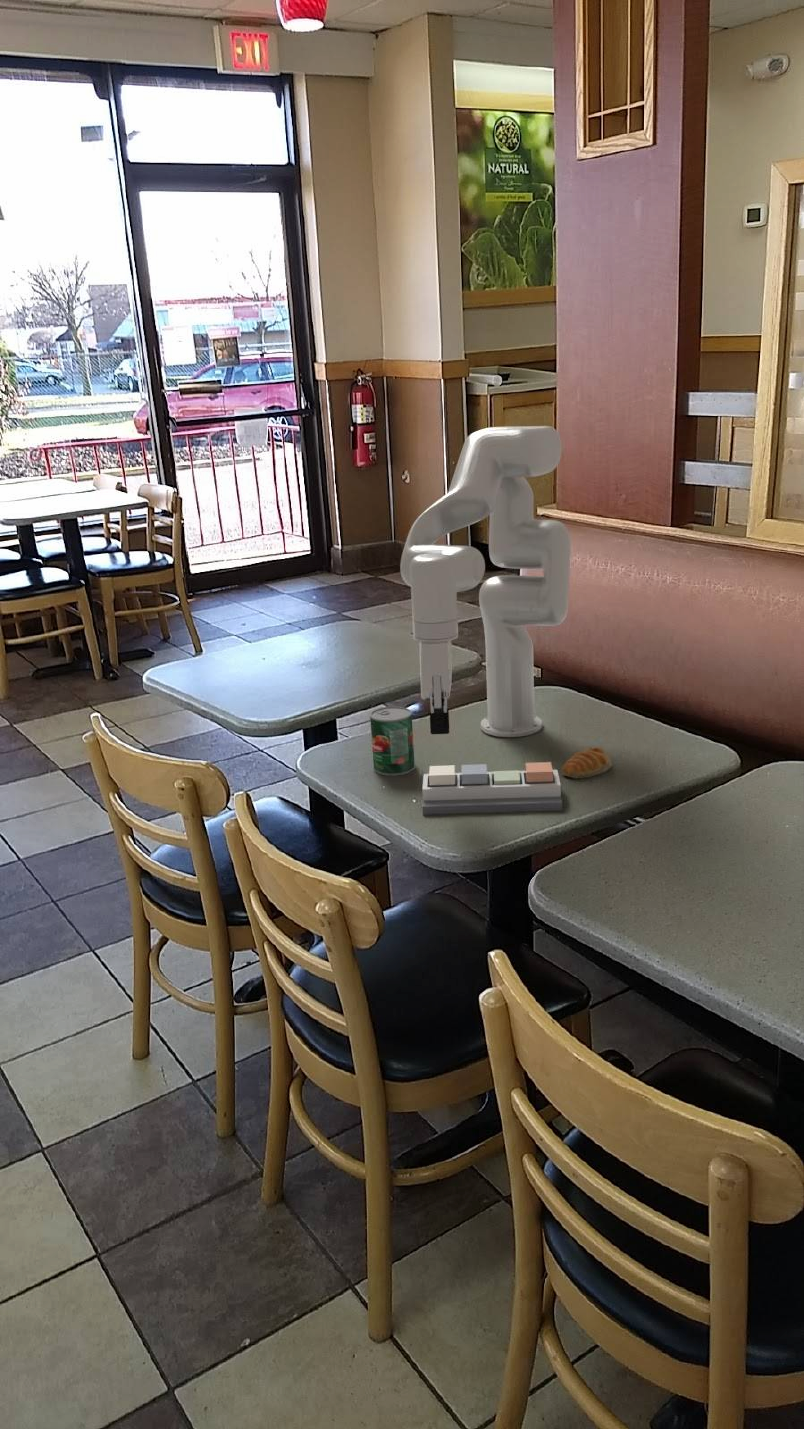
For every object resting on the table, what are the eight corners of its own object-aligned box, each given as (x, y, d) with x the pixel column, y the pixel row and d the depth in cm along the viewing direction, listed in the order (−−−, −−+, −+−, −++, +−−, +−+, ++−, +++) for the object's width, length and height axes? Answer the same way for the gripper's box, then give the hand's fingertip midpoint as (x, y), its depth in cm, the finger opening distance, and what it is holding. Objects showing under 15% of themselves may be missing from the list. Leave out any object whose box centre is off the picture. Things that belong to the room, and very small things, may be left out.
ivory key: (430, 775, 194) (429, 766, 194) (455, 774, 194) (454, 765, 194) (429, 785, 190) (428, 775, 190) (454, 784, 190) (454, 774, 189)
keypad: (425, 787, 199) (424, 768, 198) (556, 783, 198) (556, 764, 197) (422, 814, 188) (421, 795, 187) (562, 810, 186) (561, 790, 185)
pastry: (581, 784, 197) (581, 764, 196) (552, 775, 202) (552, 756, 201) (614, 769, 203) (614, 750, 202) (585, 761, 208) (585, 742, 207)
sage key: (494, 780, 194) (493, 771, 194) (519, 779, 194) (518, 770, 193) (494, 790, 190) (494, 780, 189) (520, 789, 190) (520, 780, 189)
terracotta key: (525, 772, 193) (525, 762, 193) (551, 771, 193) (550, 762, 192) (527, 782, 189) (526, 772, 189) (552, 781, 189) (552, 771, 188)
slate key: (461, 774, 194) (461, 765, 194) (486, 773, 194) (486, 764, 193) (461, 784, 190) (461, 774, 189) (487, 783, 190) (487, 773, 189)
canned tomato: (423, 765, 210) (420, 710, 206) (396, 778, 204) (393, 723, 200) (391, 757, 214) (388, 703, 211) (364, 770, 209) (360, 715, 205)
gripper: (414, 619, 191) (419, 719, 197) (411, 641, 177) (416, 748, 182) (458, 617, 190) (461, 717, 196) (457, 639, 176) (462, 747, 182)
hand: (440, 732), depth 189 cm, fingers closed
